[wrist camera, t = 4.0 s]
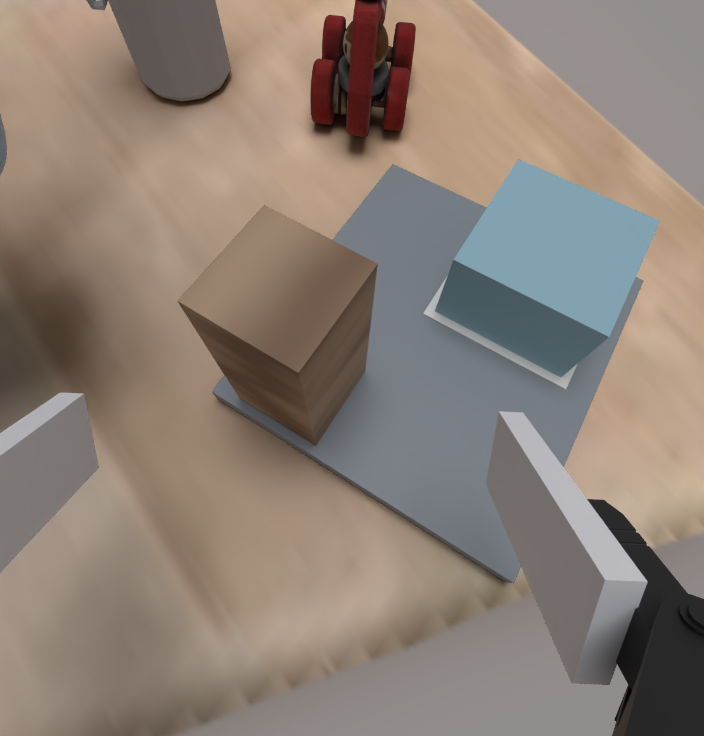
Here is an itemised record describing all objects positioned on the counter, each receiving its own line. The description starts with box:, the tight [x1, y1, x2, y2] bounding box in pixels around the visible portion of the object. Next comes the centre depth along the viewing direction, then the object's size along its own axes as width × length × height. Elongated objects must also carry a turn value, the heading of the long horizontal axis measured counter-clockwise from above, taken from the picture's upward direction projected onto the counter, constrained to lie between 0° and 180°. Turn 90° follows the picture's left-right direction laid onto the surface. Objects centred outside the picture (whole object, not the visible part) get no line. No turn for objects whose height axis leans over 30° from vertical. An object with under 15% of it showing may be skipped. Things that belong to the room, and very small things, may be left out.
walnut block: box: [178, 205, 378, 446], centre depth 20 cm, size 5×5×10 cm
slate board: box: [212, 164, 643, 583], centre depth 27 cm, size 18×20×1 cm
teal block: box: [435, 159, 660, 378], centre depth 25 cm, size 8×8×5 cm
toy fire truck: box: [311, 0, 416, 137], centre depth 31 cm, size 7×12×10 cm, turn 173°
